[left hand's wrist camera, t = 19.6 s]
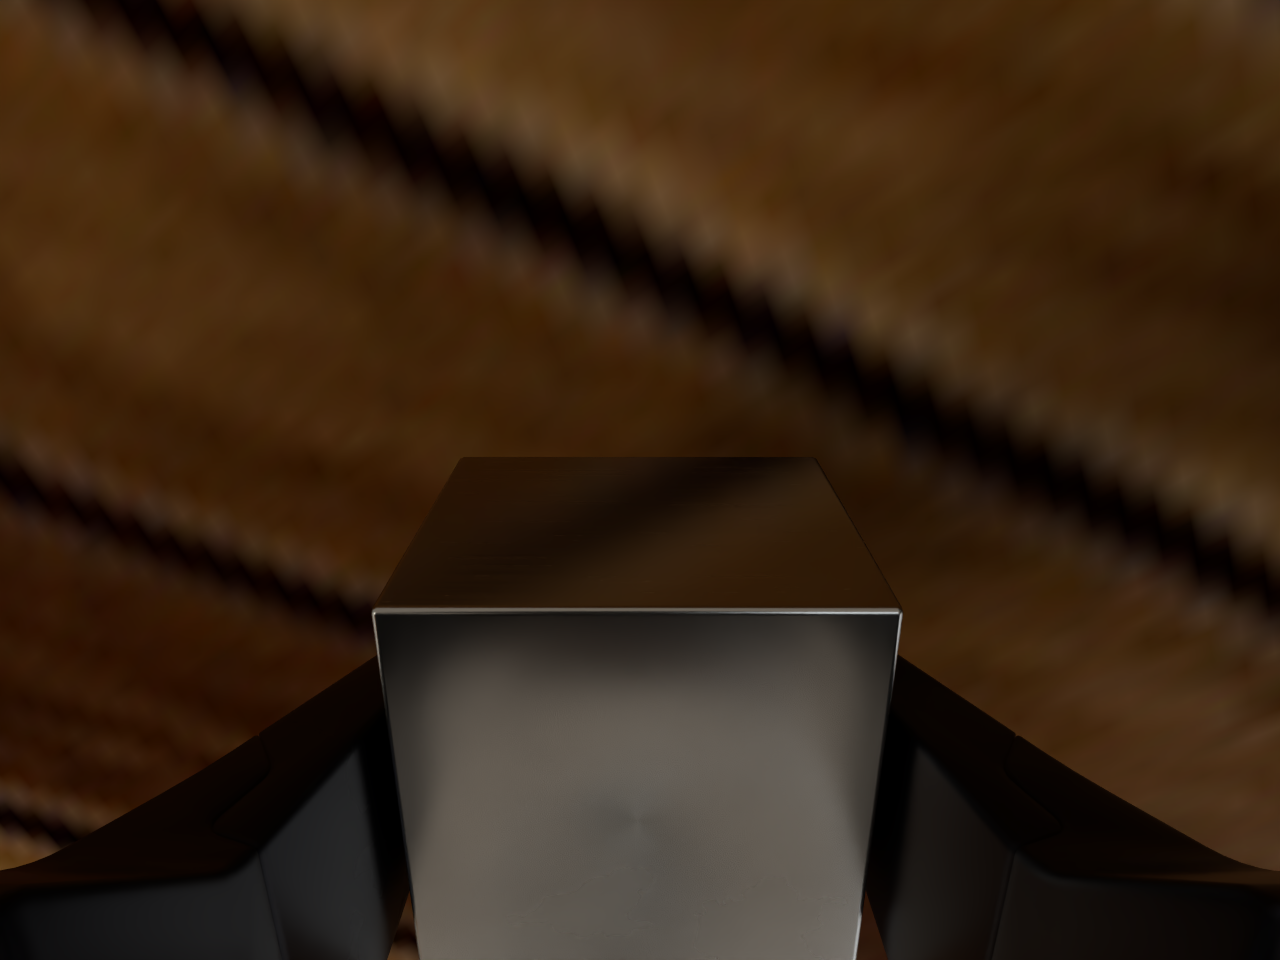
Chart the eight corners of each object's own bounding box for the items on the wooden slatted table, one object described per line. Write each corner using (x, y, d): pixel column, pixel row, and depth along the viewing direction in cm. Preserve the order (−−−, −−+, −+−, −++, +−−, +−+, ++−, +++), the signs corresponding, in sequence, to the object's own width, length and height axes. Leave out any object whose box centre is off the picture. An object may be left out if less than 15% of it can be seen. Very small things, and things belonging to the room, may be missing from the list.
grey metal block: (816, 456, 12) (906, 608, 8) (792, 747, 14) (854, 991, 10) (459, 455, 12) (367, 608, 8) (484, 748, 14) (421, 990, 10)
